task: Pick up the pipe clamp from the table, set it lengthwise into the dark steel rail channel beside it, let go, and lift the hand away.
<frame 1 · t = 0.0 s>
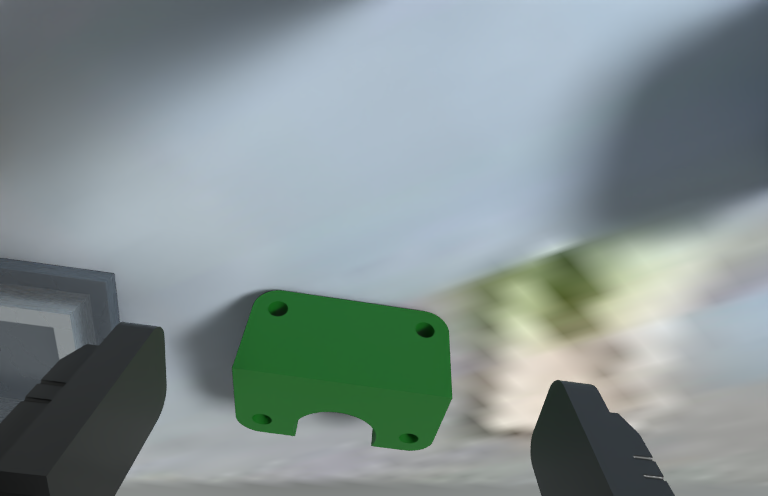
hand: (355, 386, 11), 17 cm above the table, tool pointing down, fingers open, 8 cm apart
clamp: (347, 341, 32), on the table
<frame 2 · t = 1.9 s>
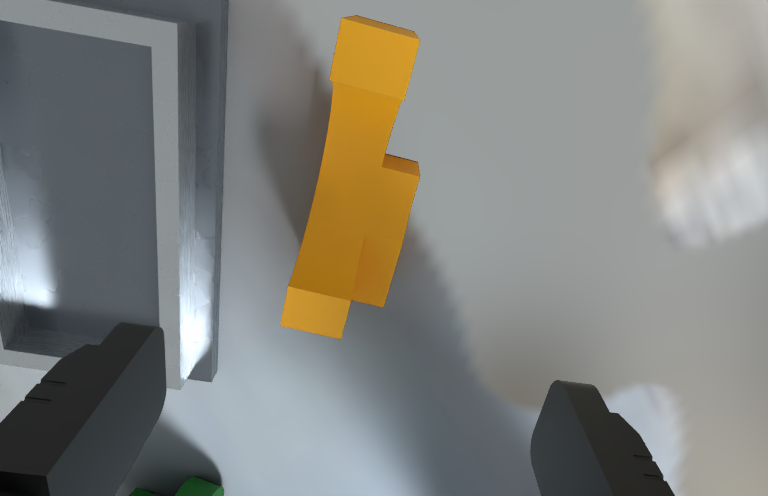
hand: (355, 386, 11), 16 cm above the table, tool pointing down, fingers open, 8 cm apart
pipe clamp: (372, 158, 25), on the table
rail channel: (102, 197, 25), on the table
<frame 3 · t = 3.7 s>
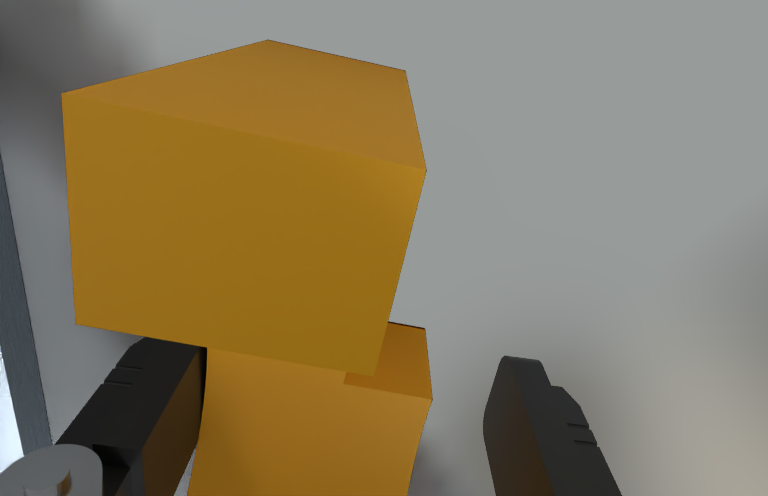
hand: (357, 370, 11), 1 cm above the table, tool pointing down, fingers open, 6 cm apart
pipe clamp: (332, 322, 12), on the table, touching gripper
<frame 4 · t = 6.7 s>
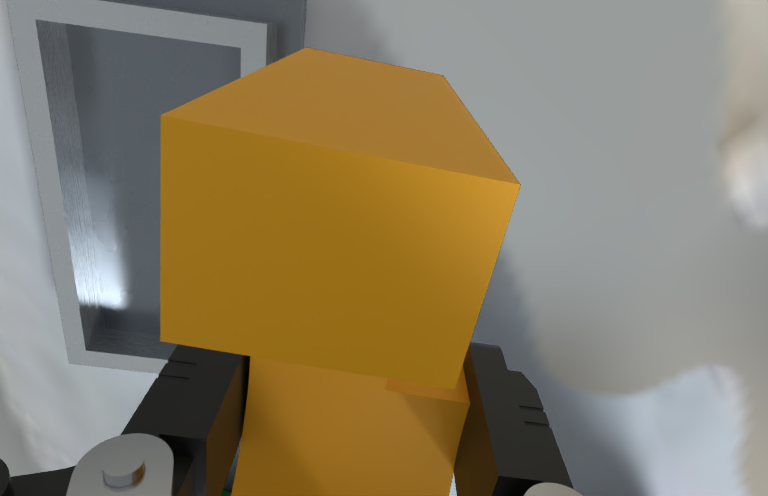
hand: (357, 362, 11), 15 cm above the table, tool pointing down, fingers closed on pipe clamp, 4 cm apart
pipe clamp: (366, 327, 12), point 14 cm above the table, touching gripper
rail channel: (177, 198, 26), on the table
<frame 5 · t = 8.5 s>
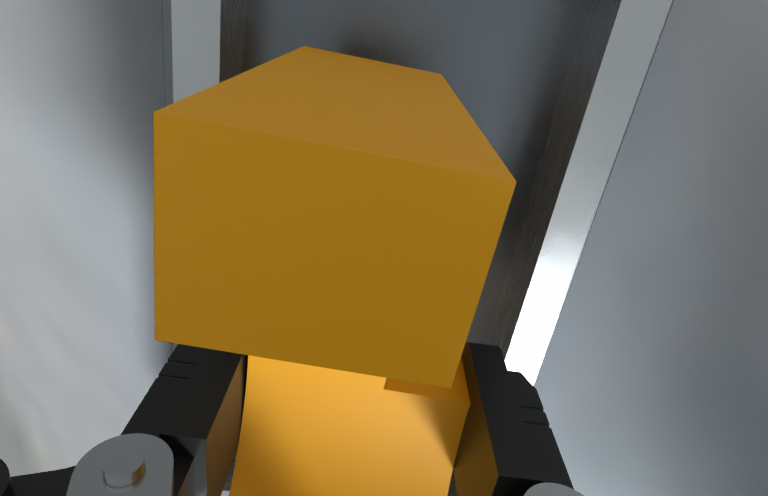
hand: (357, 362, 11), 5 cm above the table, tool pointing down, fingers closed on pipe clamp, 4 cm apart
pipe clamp: (364, 326, 12), point 4 cm above the table, touching gripper
rail channel: (373, 248, 16), on the table
when the fingers open (3 cm above the table, at t = 9.6 s): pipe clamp drops 1 cm, resting on rail channel.
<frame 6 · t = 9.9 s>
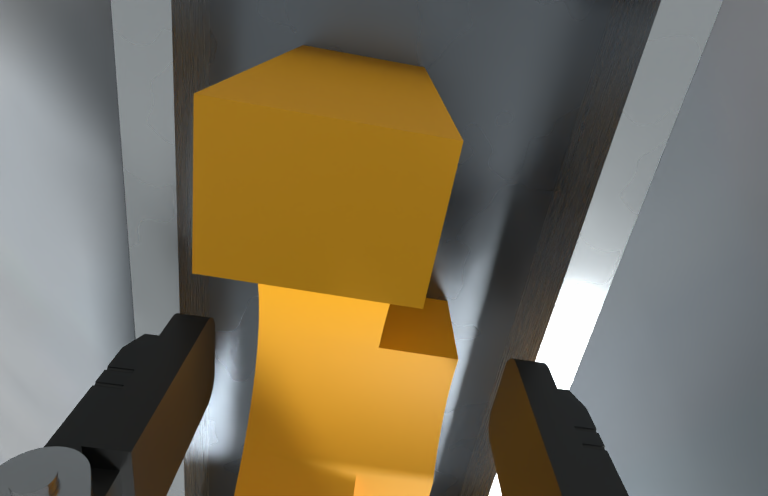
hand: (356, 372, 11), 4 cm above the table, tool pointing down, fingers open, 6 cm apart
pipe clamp: (362, 299, 13), point 1 cm above the table, touching rail channel
rail channel: (364, 287, 14), on the table
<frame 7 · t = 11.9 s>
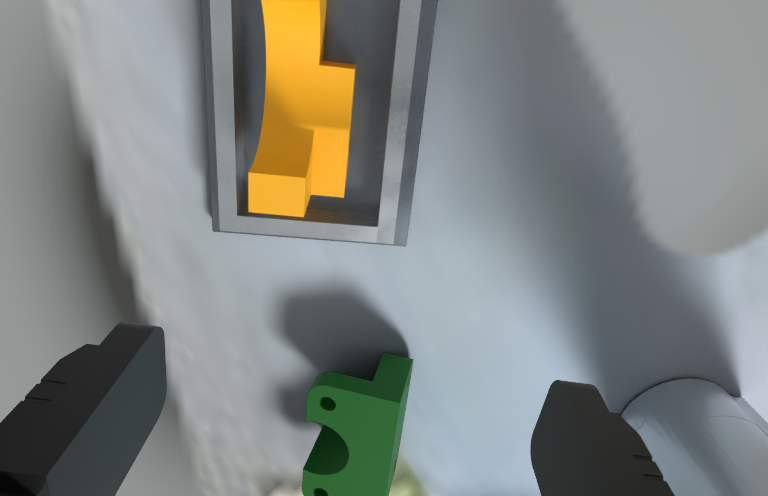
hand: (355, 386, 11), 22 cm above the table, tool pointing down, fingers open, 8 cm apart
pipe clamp: (315, 68, 27), point 1 cm above the table, touching rail channel
clamp: (358, 401, 39), on the table
rail channel: (318, 68, 28), on the table
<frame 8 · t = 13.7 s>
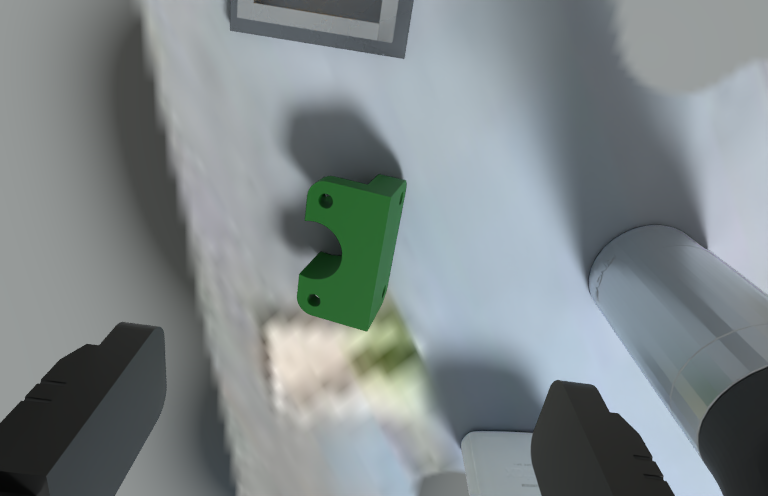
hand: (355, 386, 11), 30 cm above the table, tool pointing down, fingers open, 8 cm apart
clamp: (353, 230, 42), on the table
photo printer: (510, 442, 52), on the table
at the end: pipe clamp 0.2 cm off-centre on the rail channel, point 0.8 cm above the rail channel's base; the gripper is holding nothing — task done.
